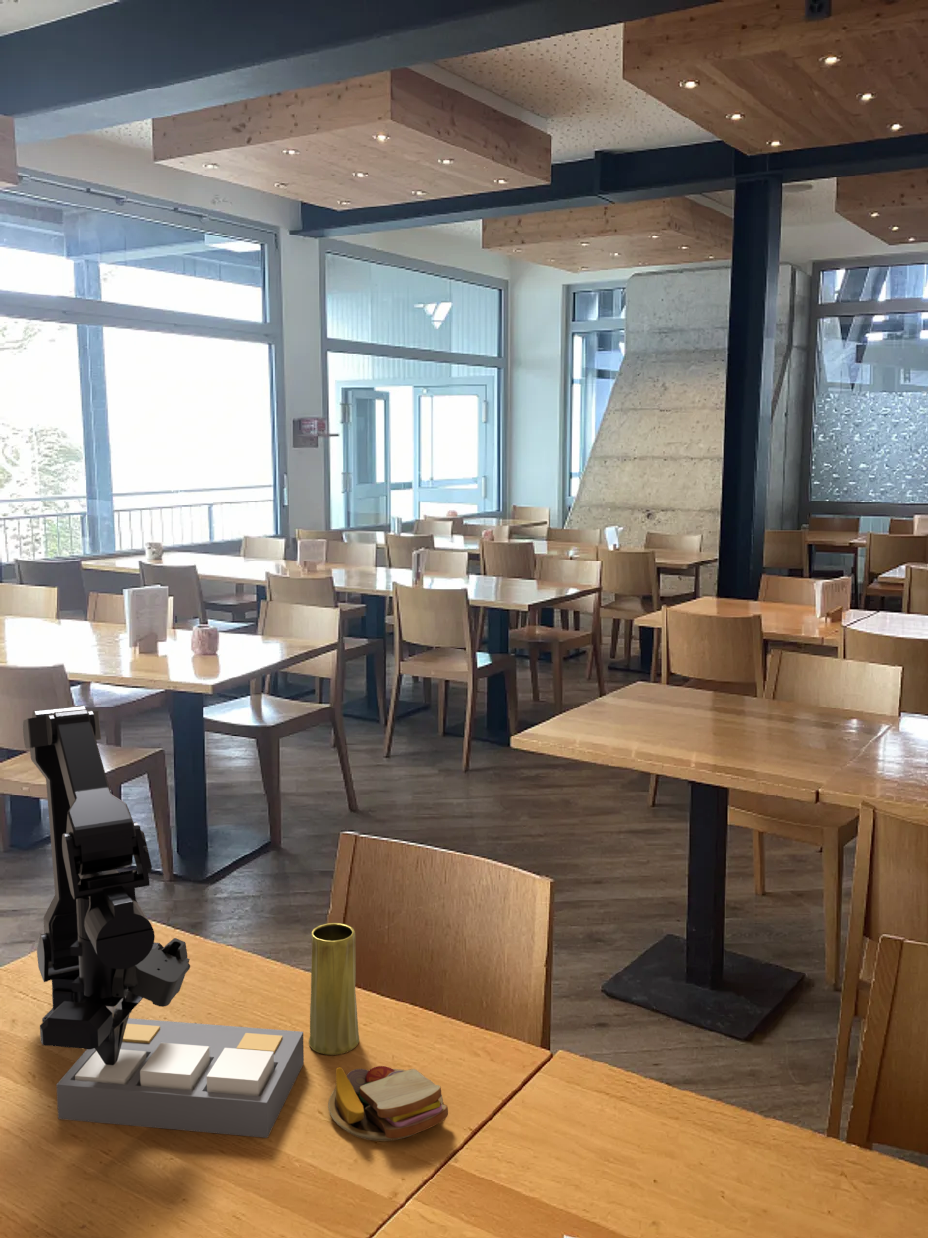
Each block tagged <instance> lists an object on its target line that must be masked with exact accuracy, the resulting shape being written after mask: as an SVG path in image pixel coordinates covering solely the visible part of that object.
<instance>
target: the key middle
mask: <svg viewBox="0 0 928 1238" xmlns="http://www.w3.org/2000/svg"><path fill="white" fill-rule="evenodd" d="M209 1065H210V1055H209V1046H198V1045H185V1044H173V1043H160V1045H159V1046H158V1047H157V1049H156V1050H155V1052H154V1053H153V1054H152V1056H151V1057H150V1058H149V1060H148V1061H147V1062H146V1064H145V1065H144V1066H143V1068H142V1069H141V1070H140V1082H141V1086H147V1087H158V1088H170V1089H182V1090H194V1088H195V1087H196V1085H197V1083H198V1082H199V1080H200V1079H201V1077H202V1076H203V1074H204V1072H205V1071H206V1069H207V1068H208V1066H209Z"/></svg>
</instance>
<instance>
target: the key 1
mask: <svg viewBox="0 0 928 1238" xmlns="http://www.w3.org/2000/svg"><path fill="white" fill-rule="evenodd" d="M145 1060H146V1051H135V1050H122V1049H120V1053H119V1057H118V1060H117V1062H116V1063H115V1064H114V1065H106V1064H105V1063H104V1062H103V1060H102V1059H101V1057H100V1056H99V1054H98V1052H97V1051H96V1052H95V1053H94V1054H93V1055H92V1056H91V1058H90V1059H89V1060H88V1061H87V1062H86V1063H85V1065H84V1066H83V1067H82V1068H81V1069H80V1071H79V1072H78V1073H77V1074H76V1075H75V1080H77V1081H88V1082H100V1083H112V1084H123V1085H127V1083H128V1082H129V1081H130V1079H131V1078H132V1077H133V1075H134V1074H135V1073H136V1072H137V1070H138V1069H139V1068H140V1066H141V1065H142V1064H143V1062H144V1061H145Z"/></svg>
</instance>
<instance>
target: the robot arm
mask: <svg viewBox="0 0 928 1238" xmlns="http://www.w3.org/2000/svg"><path fill="white" fill-rule="evenodd" d="M22 732H23V734H22V736H23V741H24V748H25V749H29V752H30V759H31V762H32V763H33V764H34V765H35V767H36V768H37V769H38V771H39V772H40V773H41V775H42V776H43V777H44V778H45V783H46V793H47V794H46V796H47V808H48V819H49V820H48V821H49V822H48V823H49V832H50V833H49V834H50V845H51V846H50V847H51V848H50V849H51V858H52V860H51V861H52V871H53V872H52V873H53V882H54V885H53V886H54V896H53V898H52V901H50V904H49V906H48V907H47V910H46V911H45V914H44V916H43V931H44V932H43V933H41V934H39V937H38V944H37V949H36V957H37V967H38V970H39V974H40V976H41V978H42V982H43V983H47V982H49V981H51V990H52V991H51V997H52V1008H50V1010H49V1011H48V1012H47V1013H46V1014H45V1015H44V1016H43V1017H42V1018H41V1022H42V1023H41V1024H39V1030H40V1033H39V1034H40V1035H39V1037H40V1043H41V1045H42V1046H47V1047H56V1048H57V1047H58V1048H70V1049H80V1050H81V1049H83V1050H87V1049H93V1048H95V1049H96V1051H97V1052H98V1054H99V1056H100V1057H101V1059H102V1060H103V1062H104V1063H105V1064H106V1065H114V1064H115V1063H116V1062H117V1060H118V1057H119V1053H120V1049H121V1045H122V1041H123V1037H124V1033H125V1029H126V1025H127V1021H128V1018H130V1014H131V1012H132V1011H133V1010H134V1009H135V1008H136V1006H138V1004H140V1002H141V1001H142V1000H143V999H146V1000H147V1001H150V1002H151V1003H152V1004H153V1005H155V1006H157V1007H163V1008H165V1007H168V1006H169V1005H170V1004H171V1003H172V1000H174V998H175V996H176V995H177V994H178V993H180V991H181V989H182V985H183V982H184V979H185V977H186V974H187V973H188V971H189V970H190V968H191V964H190V960H191V959H190V958H188V950H187V949H188V948H187V943H186V941H183V940H182V939H179V938H177V937H174V938H173V939H172V940H169V942H167V944H165V945H164V946H163V945H162V944H161V943H160V942H155V938H156V937H155V930H154V928H153V926H152V923H151V922H150V920H149V919H148V917H147V916H146V914H145V912H144V911H143V909H142V908H141V906H140V904H139V903H138V901H137V898H136V889H139V888H145V887H148V886H150V876H149V874H150V873H151V872H152V868H153V866H152V862H151V857H150V852H149V849H148V848H149V847H148V843H147V840H146V835H145V832H144V831H143V830H141V824H139V823H138V822H137V821H135V822H134V819H133V817H132V815H131V812H130V809H129V807H128V804H127V803H126V802H124V801H123V800H121V799H120V798H119V797H117V796H115V795H113V794H112V791H111V788H110V785H109V781H108V778H107V775H106V774H107V773H106V771H105V767H104V764H103V761H102V756H101V754H100V750H99V746H98V742H97V741H100V740H102V734H101V733H102V732H101V723H100V712H99V710H95V711H94V710H87V709H86V707H85V705H83V704H82V705H73V706H64V707H63V706H62V707H53V708H52V707H51V708H42V709H34V710H32V713H31V717H29V718H26V719H24V720H23V722H22ZM133 858H134V859H133ZM133 860H134V862H133ZM133 863H135V867H136V869H131V870H130V869H129V870H126V871H125V870H124V871H118V870H119V869H124V868H126V869H127V868H130V867H132V865H133Z"/></svg>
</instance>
